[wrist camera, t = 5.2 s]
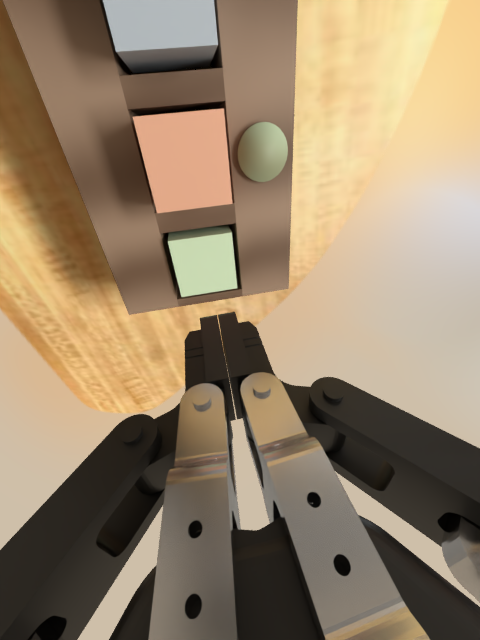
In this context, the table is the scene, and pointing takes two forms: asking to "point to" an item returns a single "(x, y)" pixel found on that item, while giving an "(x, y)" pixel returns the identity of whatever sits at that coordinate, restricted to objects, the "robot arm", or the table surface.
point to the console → (168, 97)
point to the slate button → (163, 33)
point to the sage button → (203, 259)
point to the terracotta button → (186, 159)
